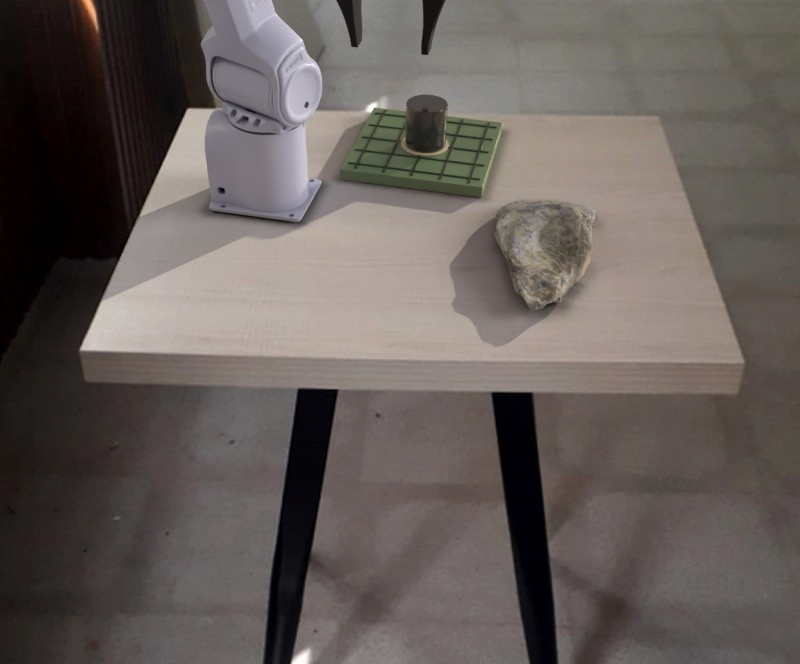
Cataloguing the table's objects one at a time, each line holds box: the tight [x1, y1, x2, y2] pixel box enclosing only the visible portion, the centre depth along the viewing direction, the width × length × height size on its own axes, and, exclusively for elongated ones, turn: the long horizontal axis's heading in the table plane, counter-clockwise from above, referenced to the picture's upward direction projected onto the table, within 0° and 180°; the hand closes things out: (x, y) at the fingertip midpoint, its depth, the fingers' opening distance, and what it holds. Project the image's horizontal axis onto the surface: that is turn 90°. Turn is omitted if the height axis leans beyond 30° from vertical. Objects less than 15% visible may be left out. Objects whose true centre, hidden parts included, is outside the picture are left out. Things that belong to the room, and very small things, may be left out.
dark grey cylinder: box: [405, 94, 449, 153], centre depth 102 cm, size 4×4×5 cm
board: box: [339, 107, 504, 198], centre depth 104 cm, size 15×15×1 cm
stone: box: [492, 199, 598, 311], centre depth 89 cm, size 20×4×10 cm
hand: (391, 47), depth 102 cm, fingers open, 7 cm apart
